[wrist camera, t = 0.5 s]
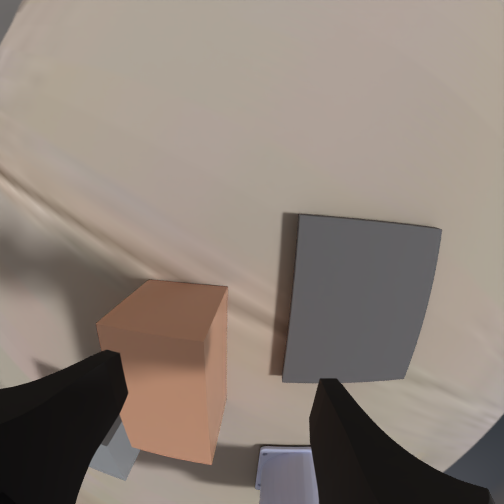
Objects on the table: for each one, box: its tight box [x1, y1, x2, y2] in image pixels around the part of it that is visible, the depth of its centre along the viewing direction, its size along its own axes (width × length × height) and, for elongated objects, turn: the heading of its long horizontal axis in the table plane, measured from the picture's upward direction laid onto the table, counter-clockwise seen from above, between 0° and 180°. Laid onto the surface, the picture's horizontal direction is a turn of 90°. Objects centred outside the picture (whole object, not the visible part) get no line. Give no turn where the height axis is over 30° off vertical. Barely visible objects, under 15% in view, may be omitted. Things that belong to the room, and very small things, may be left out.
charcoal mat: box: [282, 214, 442, 383], centre depth 18 cm, size 12×10×1 cm
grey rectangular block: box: [89, 414, 140, 481], centre depth 19 cm, size 6×6×7 cm
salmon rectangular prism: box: [96, 280, 228, 465], centre depth 16 cm, size 10×6×7 cm, turn 177°
